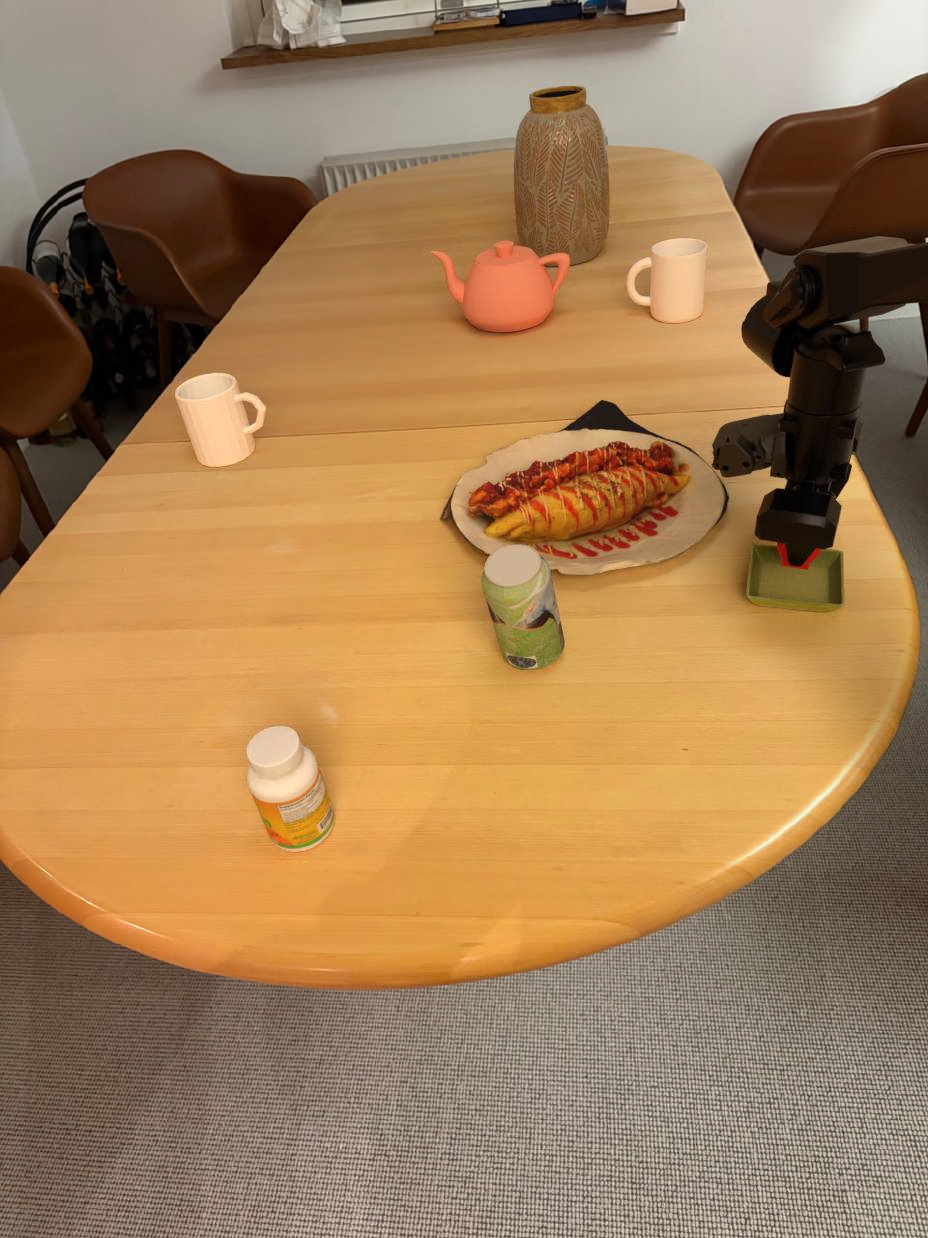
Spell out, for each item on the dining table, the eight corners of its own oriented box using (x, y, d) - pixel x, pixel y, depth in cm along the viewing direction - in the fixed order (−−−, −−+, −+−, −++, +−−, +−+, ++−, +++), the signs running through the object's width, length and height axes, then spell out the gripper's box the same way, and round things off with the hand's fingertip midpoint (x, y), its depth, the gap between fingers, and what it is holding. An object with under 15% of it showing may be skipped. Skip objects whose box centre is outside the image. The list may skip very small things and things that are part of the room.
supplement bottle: (262, 814, 72) (229, 734, 66) (325, 789, 73) (298, 708, 67) (278, 864, 68) (244, 784, 62) (344, 837, 69) (317, 756, 63)
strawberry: (821, 552, 84) (828, 515, 81) (815, 577, 82) (822, 539, 79) (778, 545, 86) (783, 509, 83) (770, 569, 83) (775, 532, 80)
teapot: (432, 342, 142) (421, 264, 134) (447, 306, 153) (437, 232, 145) (569, 334, 138) (566, 254, 130) (574, 298, 149) (571, 222, 141)
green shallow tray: (841, 623, 82) (845, 606, 80) (743, 613, 84) (745, 596, 83) (840, 567, 88) (843, 550, 86) (748, 559, 90) (750, 542, 89)
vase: (586, 274, 157) (582, 103, 140) (502, 267, 165) (488, 104, 148) (624, 242, 168) (625, 79, 151) (543, 236, 176) (535, 81, 159)
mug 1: (265, 470, 116) (245, 401, 110) (186, 466, 119) (162, 399, 113) (290, 439, 122) (273, 373, 115) (214, 436, 125) (193, 371, 119)
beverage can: (576, 643, 84) (571, 540, 76) (539, 693, 79) (530, 589, 71) (518, 625, 87) (508, 524, 79) (479, 672, 82) (465, 570, 74)
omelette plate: (627, 399, 118) (628, 350, 113) (778, 545, 93) (786, 490, 88) (407, 463, 113) (397, 415, 108) (502, 635, 88) (495, 583, 83)
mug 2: (625, 326, 138) (625, 259, 131) (626, 306, 144) (626, 241, 138) (704, 323, 136) (708, 254, 129) (702, 302, 142) (706, 236, 135)
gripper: (747, 346, 82) (733, 489, 92) (698, 443, 70) (688, 596, 80) (876, 355, 78) (846, 504, 88) (848, 461, 66) (818, 620, 76)
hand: (799, 552), depth 83 cm, fingers closed on strawberry, 4 cm apart
